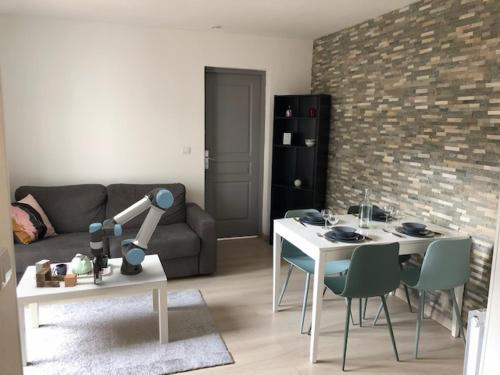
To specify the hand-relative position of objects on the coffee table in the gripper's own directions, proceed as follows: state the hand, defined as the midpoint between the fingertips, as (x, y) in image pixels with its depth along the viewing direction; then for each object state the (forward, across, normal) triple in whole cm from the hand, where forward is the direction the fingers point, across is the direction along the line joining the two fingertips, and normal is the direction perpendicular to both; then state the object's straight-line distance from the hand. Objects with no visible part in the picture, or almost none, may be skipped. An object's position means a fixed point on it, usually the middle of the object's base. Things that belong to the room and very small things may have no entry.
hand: (99, 281), depth 270 cm
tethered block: (+1, +1, -10) cm, 10 cm away
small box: (+1, -13, -42) cm, 44 cm away
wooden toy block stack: (+1, 0, -31) cm, 31 cm away
